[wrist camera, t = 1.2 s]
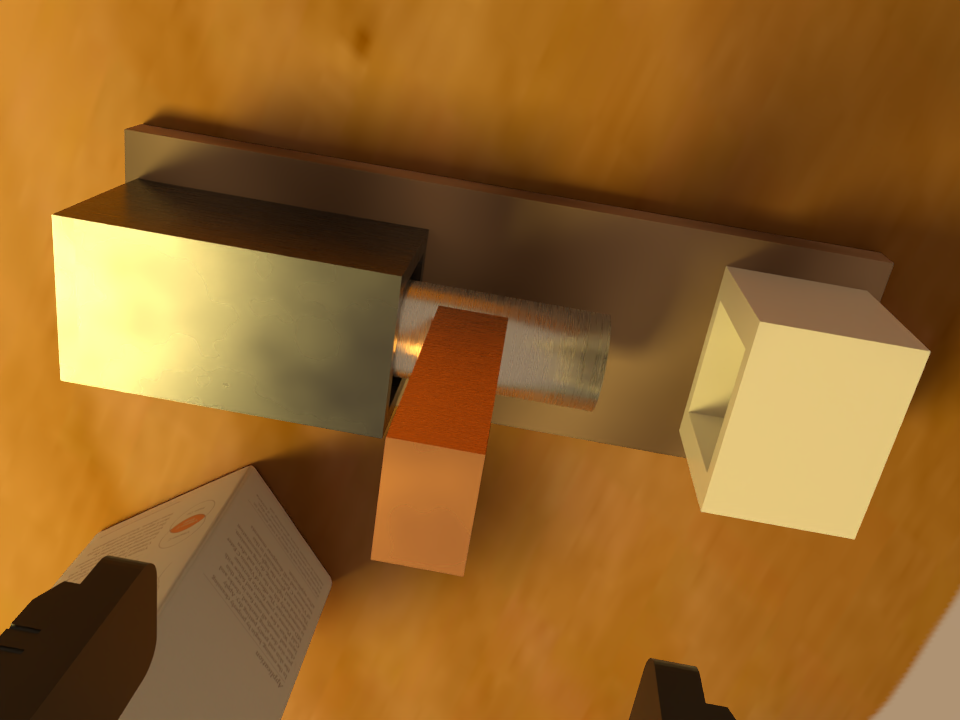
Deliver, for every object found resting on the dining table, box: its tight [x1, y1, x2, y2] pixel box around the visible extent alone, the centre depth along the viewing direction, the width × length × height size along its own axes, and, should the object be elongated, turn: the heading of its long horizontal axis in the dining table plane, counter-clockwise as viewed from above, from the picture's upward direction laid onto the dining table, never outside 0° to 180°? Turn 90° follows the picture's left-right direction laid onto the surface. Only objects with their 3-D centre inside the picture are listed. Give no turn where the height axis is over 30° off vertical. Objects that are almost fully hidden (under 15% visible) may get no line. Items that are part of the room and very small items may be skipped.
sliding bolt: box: [371, 279, 611, 576], centre depth 22 cm, size 14×3×11 cm, turn 81°
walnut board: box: [125, 124, 894, 458], centre depth 29 cm, size 24×8×1 cm, turn 81°
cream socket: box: [679, 266, 931, 539], centre depth 26 cm, size 4×6×5 cm
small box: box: [51, 465, 332, 720], centre depth 29 cm, size 8×6×13 cm
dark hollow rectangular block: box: [52, 178, 429, 438], centre depth 26 cm, size 10×5×5 cm, turn 81°
